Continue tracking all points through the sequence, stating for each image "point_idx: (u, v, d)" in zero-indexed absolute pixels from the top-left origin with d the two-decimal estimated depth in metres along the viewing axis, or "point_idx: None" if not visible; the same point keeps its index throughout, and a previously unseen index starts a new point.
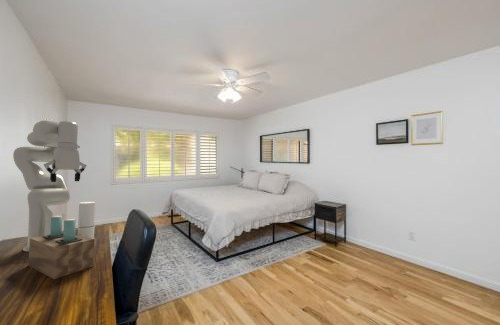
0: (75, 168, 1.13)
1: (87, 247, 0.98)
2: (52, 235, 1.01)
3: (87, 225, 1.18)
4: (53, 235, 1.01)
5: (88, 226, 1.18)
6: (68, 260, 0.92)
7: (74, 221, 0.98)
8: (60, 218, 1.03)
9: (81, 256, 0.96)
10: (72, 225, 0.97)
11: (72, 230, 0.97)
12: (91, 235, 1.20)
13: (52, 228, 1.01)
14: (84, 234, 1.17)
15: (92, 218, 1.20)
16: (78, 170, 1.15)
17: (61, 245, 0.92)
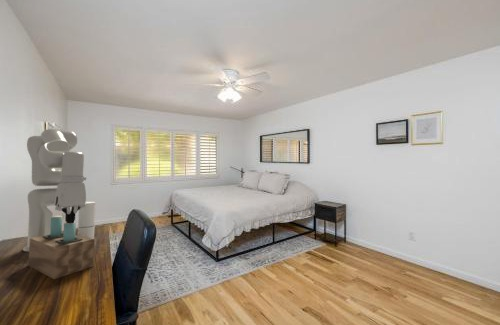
0: (81, 204, 1.00)
1: (87, 247, 0.98)
2: (52, 235, 1.01)
3: (87, 225, 1.18)
4: (53, 235, 1.01)
5: (88, 226, 1.18)
6: (68, 260, 0.92)
7: (74, 224, 0.98)
8: (60, 218, 1.03)
9: (81, 256, 0.96)
10: (72, 228, 0.97)
11: (72, 233, 0.97)
12: (91, 235, 1.20)
13: (52, 228, 1.01)
14: (84, 234, 1.17)
15: (92, 218, 1.20)
16: (75, 208, 0.98)
17: (61, 245, 0.92)
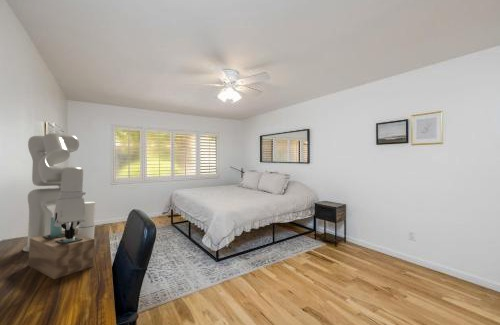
0: (80, 219, 0.99)
1: (87, 247, 0.98)
2: (52, 235, 1.01)
3: (87, 225, 1.18)
4: (53, 235, 1.01)
5: (88, 226, 1.18)
6: (68, 260, 0.92)
7: None
8: None
9: (81, 256, 0.96)
10: None
11: None
12: (91, 235, 1.20)
13: (52, 228, 1.01)
14: (84, 234, 1.17)
15: (92, 218, 1.20)
16: (75, 224, 0.98)
17: (61, 245, 0.92)
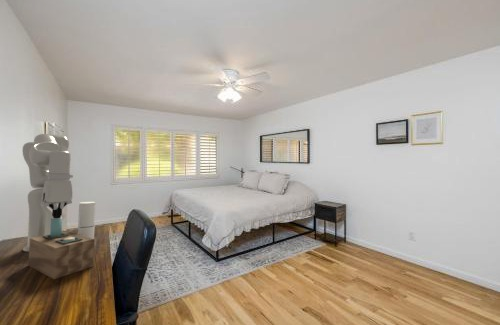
0: (67, 200, 1.05)
1: (87, 247, 0.98)
2: (52, 236, 1.01)
3: (87, 225, 1.18)
4: (53, 236, 1.01)
5: (88, 226, 1.18)
6: (68, 260, 0.92)
7: None
8: (60, 219, 1.03)
9: (81, 256, 0.96)
10: None
11: None
12: (91, 235, 1.20)
13: (52, 229, 1.01)
14: (84, 234, 1.17)
15: (92, 218, 1.20)
16: (62, 204, 1.04)
17: (61, 245, 0.92)
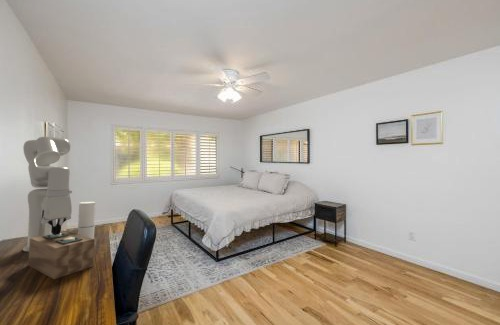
0: (66, 216, 1.05)
1: (87, 247, 0.98)
2: None
3: (87, 225, 1.18)
4: None
5: (88, 226, 1.18)
6: (68, 260, 0.92)
7: None
8: None
9: (81, 256, 0.96)
10: None
11: None
12: (91, 235, 1.20)
13: None
14: (84, 234, 1.17)
15: (92, 218, 1.20)
16: (61, 221, 1.04)
17: (61, 245, 0.92)
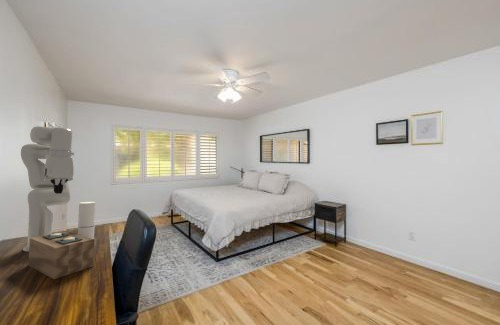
0: (68, 177, 1.08)
1: (87, 247, 0.98)
2: None
3: (87, 225, 1.18)
4: None
5: (88, 226, 1.18)
6: (68, 260, 0.92)
7: None
8: None
9: (81, 256, 0.96)
10: None
11: None
12: (91, 235, 1.20)
13: None
14: (84, 234, 1.17)
15: (92, 218, 1.20)
16: (63, 180, 1.07)
17: (61, 245, 0.92)
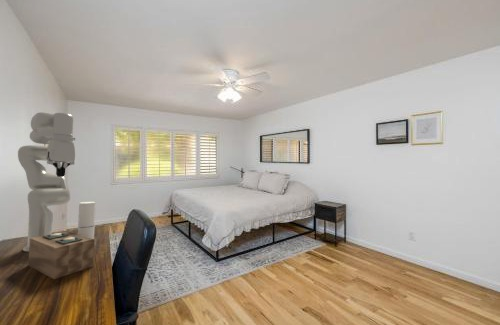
0: (70, 160, 1.12)
1: (87, 247, 0.98)
2: None
3: (87, 225, 1.18)
4: None
5: (88, 226, 1.18)
6: (68, 260, 0.92)
7: None
8: None
9: (81, 256, 0.96)
10: None
11: None
12: (91, 235, 1.20)
13: None
14: (84, 234, 1.17)
15: (92, 218, 1.20)
16: (65, 164, 1.10)
17: (61, 245, 0.92)
